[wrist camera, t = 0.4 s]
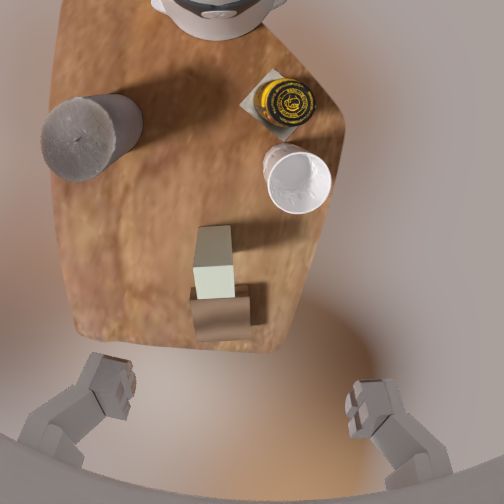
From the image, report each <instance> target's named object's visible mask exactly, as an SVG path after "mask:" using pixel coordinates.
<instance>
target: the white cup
mask: <svg viewBox="0 0 504 504" xmlns="http://www.w3.org/2000/svg"><path fill="white" fill-rule="evenodd" d="M263 169H264V177H265V181H266V184H267V188H268V191H269V195H270V197H271V199H272V201H273V202H274V203H275V204H276V205H277V206H278V207H279V208H280V209H282V210H283V211H286V212H288V213H292V214H304V213H308V212H311V211H313V210H315V209H316V208H318V207H319V206H320V205H321V204H322V203H323V202H324V201H325V200H326V198H327V197H328V195H329V192H330V189H331V174H330V171H329V168H328V167H327V165H326V164H325V162H324V161H323V160H322V159H321V158H319V157H318V156H316V155H314V154H313V153H311V152H309V151H308V150H306V149H303V148H301V147H299V146H296V145H294V144H290V143H281V144H278V145H275V146H273V147H272V148H271V149H270V150H269V151H268V152H267V153H266V155H265V158H264V160H263Z"/></svg>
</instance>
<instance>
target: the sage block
mask: <svg viewBox="0 0 504 504" xmlns="http://www.w3.org/2000/svg"><path fill="white" fill-rule="evenodd" d="M193 271H194V278H195V285H196V292H197V299H214V298H231V297H235V289H234V272H233V256H232V242H231V228H230V225H225V226H208V227H199V228H198V235H197V242H196V249H195V257H194V264H193Z"/></svg>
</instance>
